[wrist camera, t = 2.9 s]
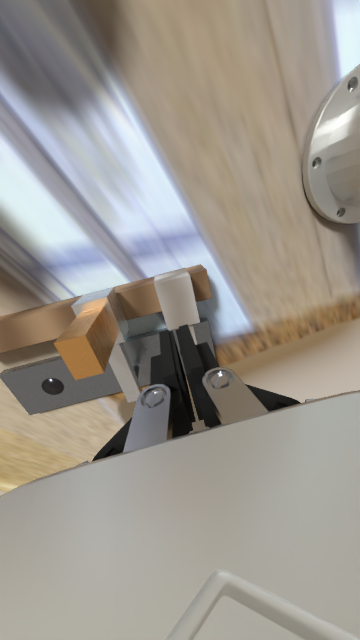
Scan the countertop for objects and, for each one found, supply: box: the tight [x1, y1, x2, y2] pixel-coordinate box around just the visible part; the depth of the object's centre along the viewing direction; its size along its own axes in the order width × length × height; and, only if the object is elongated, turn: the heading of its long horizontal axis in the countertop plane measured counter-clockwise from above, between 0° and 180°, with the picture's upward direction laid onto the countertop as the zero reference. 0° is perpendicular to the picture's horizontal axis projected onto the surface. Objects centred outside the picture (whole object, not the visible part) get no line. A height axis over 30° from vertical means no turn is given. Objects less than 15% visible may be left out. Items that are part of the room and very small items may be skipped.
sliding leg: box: [54, 287, 143, 403], centre depth 19 cm, size 3×12×10 cm, turn 14°
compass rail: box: [0, 264, 211, 353], centre depth 22 cm, size 27×12×6 cm, turn 104°
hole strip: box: [0, 318, 216, 415], centre depth 27 cm, size 26×7×1 cm, turn 104°
